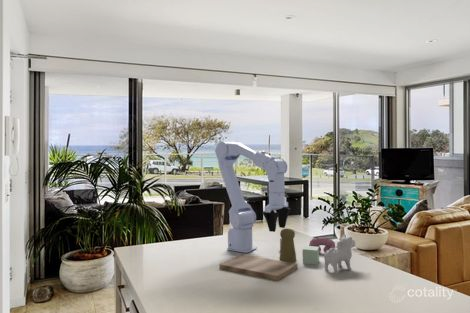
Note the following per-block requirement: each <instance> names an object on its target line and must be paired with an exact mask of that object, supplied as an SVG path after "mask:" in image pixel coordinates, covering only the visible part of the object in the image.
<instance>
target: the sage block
mask: <svg viewBox="0 0 470 313" xmlns="http://www.w3.org/2000/svg"><path fill="white" fill-rule="evenodd" d="M319 262H320V252H319V247H316V246H309V245H304V246H303V248H302V264H304V265H305V264H306V265H314V266H315V265H318V264H319Z"/></svg>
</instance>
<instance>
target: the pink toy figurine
mask: <svg viewBox="0 0 470 313" xmlns="http://www.w3.org/2000/svg"><path fill="white" fill-rule="evenodd" d="M308 246H316V247H319V253H321V252H322V247H321V246H324V247H323V253H324V254H325V253H326V251H328V250H329V249H331V248H336V242H335V241H334V240H333V239H331V238H328V237H322V236H319V237H313V238H311V240H310V242H309V244H308Z"/></svg>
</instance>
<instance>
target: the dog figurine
mask: <svg viewBox="0 0 470 313" xmlns="http://www.w3.org/2000/svg"><path fill="white" fill-rule="evenodd" d="M355 246H356V242H355V240H354V239H353V237H352V236H348V237H347V234H343V235H342V237H341V238H340V240H338V241H337V242H336V245H335V248H331V249H329V250H328V251H326V253H325V252H324V254H323V259H324V270H325V271H326V272H327V271H329V266H332V267H333V274H339V271H338V268H339V267H340V268H341V267H343V265H342V262H343V261H344V264H345V266H346V269H347V270H348V271H350V269H351V270H352V267H351V259H352V256H353V253H352V249H353V248H355Z"/></svg>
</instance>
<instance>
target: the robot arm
mask: <svg viewBox="0 0 470 313" xmlns="http://www.w3.org/2000/svg"><path fill="white" fill-rule="evenodd" d="M214 152H215V155H216V158H217V162H218V163H217V164H218V168H219V171H220V174H221V177H222V179H223V182H224V186H225V189H226V192H227V195H228V198H229V200H230V204H231V207H230V209H229V210H228V214H229V215H228V216H229V222H230V225H231V226H230V227H229V228H228V231H227V247H226V250H227V251H233V252H238V253H239V252H240V253H244V254H247V253H249V252H252V251H254V250H256V249H257V247H256V246H253V227H254V224H255V223H256V222H257V214H256V212H255V211H254V209H253V208H252V206H251V204H249V203H248V202H246V201H245V198H244V194H243V192H242V189H241V187H240V183H239V180H238V178H237V175H236V172H235V169H234V164H235V163H236V162H237V161H238V159H239V157H241V156H242V157H245V158H247V159H248V160H251V161H252V163H253V164H254V166H256V167H258V168H259V169H262V170H264V171H265V173H266V175H267V179H268V204H267V205H266V206H264V211H262V214H263V216H264V218H265V220H266V221H265V222H266V223H267V226H268V231H269V232H271V233H273V232H276V230H277V223H278V228H280V229H281V228H283V229H286V226H287V221H288V216H289V214H290V212H291V209H292V208H290V207H289V202H288V201H285V200H286V199H285V197H286V196H285V194H286V193H285V192H286V190H285V174H286V173H287V170H288V163H287V161H285V160H284V159H283V158H278V159H277V158H276V156H274V155H269V154H268V153H267V151H265V150H260V151H255V150H253V149H251V148H250V147H248V146H246V145H244V144H243V143H242V142H240V141H218V143H217V144H216V148H215V150H214Z"/></svg>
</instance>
